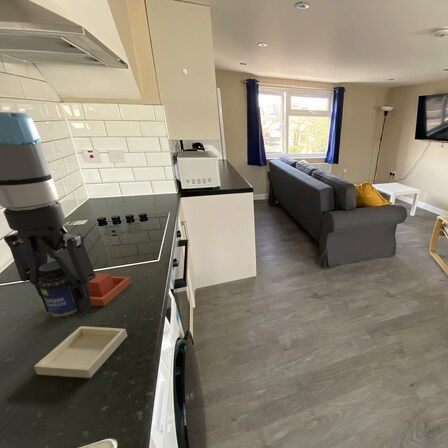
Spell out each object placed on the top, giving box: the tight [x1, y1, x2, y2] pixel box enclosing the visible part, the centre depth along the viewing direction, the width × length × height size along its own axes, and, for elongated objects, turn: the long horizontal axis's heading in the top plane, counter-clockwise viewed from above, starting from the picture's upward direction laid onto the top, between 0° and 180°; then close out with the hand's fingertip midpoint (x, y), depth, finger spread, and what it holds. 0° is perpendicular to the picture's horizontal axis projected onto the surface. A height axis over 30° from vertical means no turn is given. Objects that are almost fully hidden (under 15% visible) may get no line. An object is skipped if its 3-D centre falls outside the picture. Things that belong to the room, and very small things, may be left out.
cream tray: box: [33, 325, 128, 379], centre depth 59 cm, size 12×12×2 cm
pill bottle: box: [39, 260, 79, 320], centre depth 54 cm, size 6×6×11 cm
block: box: [88, 272, 114, 297], centre depth 80 cm, size 5×5×5 cm
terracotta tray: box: [89, 275, 132, 307], centre depth 81 cm, size 12×12×2 cm
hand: (70, 308), depth 55 cm, fingers closed on pill bottle, 6 cm apart
